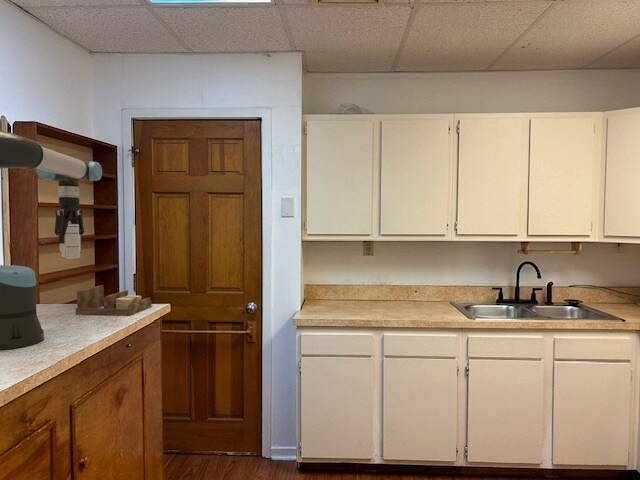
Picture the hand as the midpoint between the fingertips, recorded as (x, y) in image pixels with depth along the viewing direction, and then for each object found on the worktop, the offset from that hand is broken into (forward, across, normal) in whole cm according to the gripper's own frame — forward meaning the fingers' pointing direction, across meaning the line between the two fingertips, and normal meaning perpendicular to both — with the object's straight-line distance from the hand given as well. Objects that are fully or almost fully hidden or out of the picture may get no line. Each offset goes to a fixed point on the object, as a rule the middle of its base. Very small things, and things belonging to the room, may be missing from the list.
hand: (70, 250), depth 178 cm
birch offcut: (+22, -4, -28) cm, 36 cm away
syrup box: (+3, 0, 0) cm, 3 cm away
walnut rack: (+24, -4, -22) cm, 33 cm away
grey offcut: (+25, -4, -28) cm, 37 cm away
